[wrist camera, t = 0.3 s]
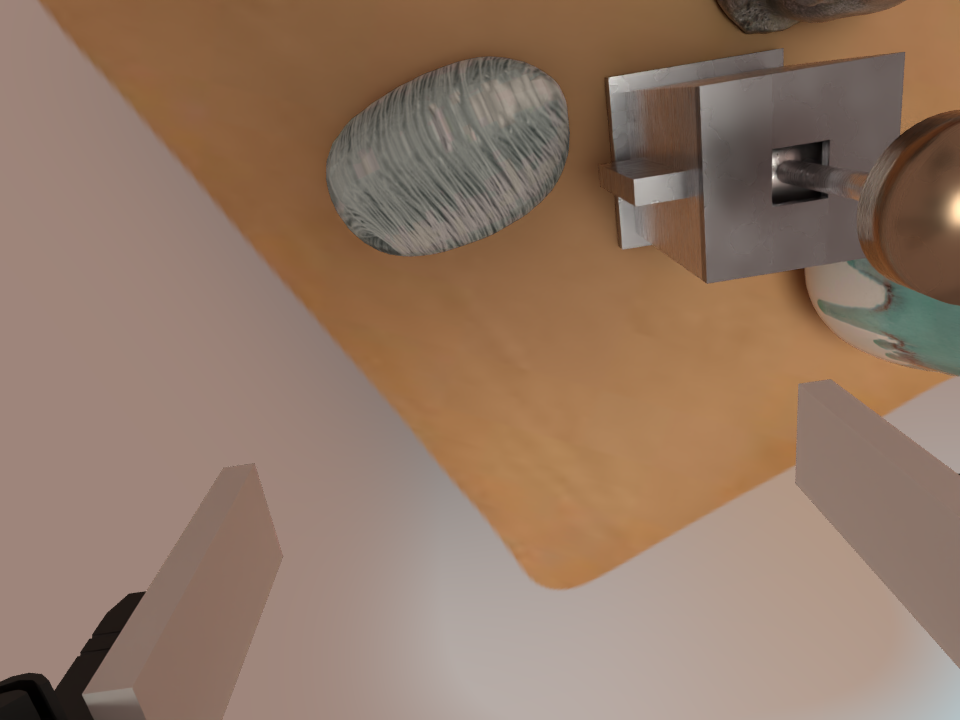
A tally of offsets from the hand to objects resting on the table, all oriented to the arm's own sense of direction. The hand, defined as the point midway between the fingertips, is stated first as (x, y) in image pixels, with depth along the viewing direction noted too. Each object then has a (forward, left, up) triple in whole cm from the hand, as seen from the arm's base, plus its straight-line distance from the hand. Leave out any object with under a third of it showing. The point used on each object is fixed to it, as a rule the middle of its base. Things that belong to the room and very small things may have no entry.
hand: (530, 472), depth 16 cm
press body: (-4, +13, -28) cm, 31 cm away
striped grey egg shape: (-6, -1, -28) cm, 29 cm away
